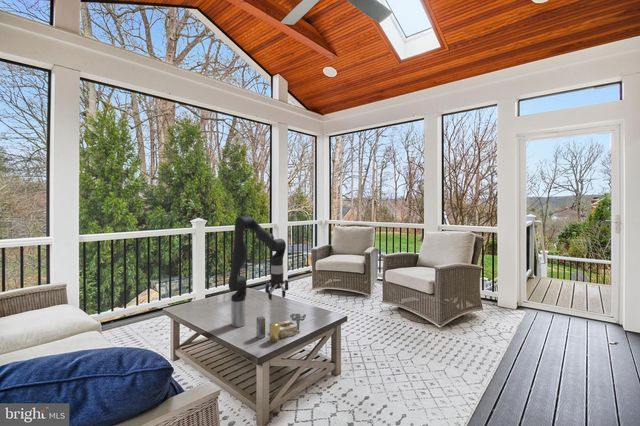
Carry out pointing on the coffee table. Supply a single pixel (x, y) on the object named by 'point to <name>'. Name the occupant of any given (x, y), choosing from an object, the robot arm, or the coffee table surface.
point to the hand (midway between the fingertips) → (276, 298)
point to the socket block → (287, 329)
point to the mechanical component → (297, 318)
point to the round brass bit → (274, 332)
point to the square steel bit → (260, 327)
